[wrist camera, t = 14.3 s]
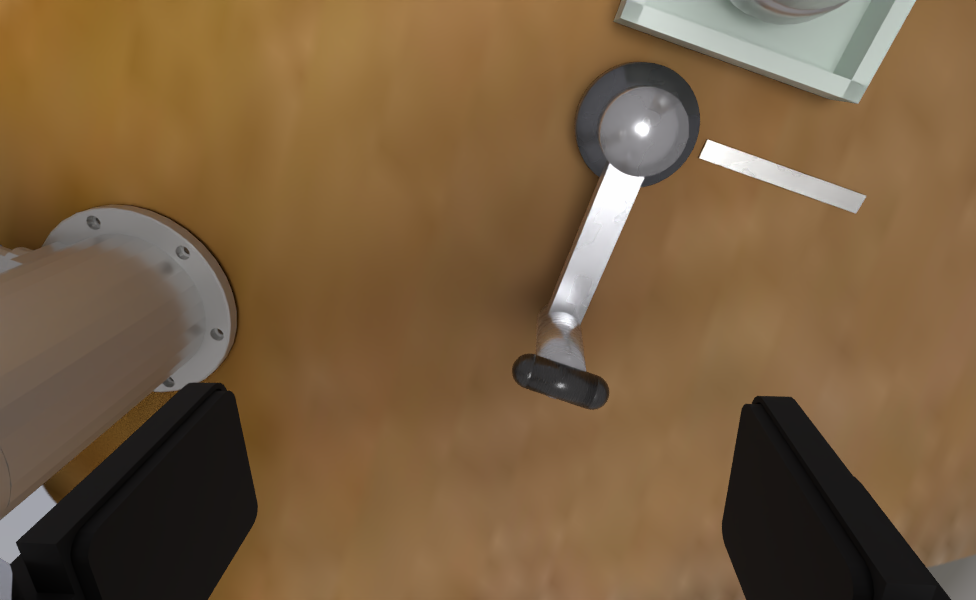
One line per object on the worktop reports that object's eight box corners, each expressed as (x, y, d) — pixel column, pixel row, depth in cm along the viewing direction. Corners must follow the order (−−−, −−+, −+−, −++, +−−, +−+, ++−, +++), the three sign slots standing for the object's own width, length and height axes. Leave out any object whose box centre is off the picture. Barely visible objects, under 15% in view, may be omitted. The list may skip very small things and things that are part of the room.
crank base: (558, 159, 32) (558, 165, 30) (600, 45, 29) (603, 44, 28) (829, 253, 32) (846, 265, 31) (892, 149, 30) (914, 155, 28)
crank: (610, 71, 28) (630, 76, 21) (700, 103, 28) (751, 119, 21) (513, 324, 33) (503, 396, 26) (588, 349, 34) (599, 428, 26)
